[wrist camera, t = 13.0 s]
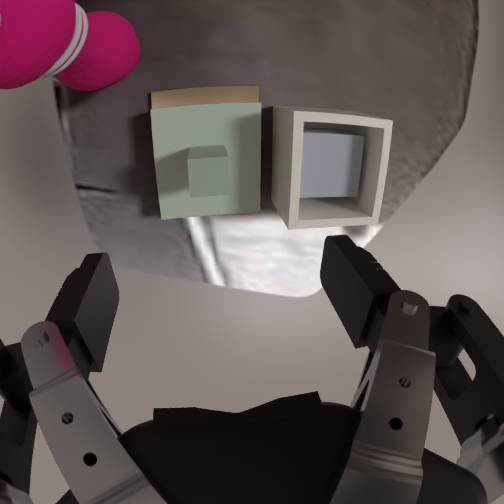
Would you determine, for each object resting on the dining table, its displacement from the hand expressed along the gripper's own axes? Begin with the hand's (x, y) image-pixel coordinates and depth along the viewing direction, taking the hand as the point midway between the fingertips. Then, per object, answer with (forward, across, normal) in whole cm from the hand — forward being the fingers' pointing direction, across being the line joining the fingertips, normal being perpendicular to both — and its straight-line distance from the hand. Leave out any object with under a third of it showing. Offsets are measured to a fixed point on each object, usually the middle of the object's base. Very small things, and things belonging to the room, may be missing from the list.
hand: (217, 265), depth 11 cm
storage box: (+20, -11, +1) cm, 23 cm away
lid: (+20, 0, 0) cm, 20 cm away
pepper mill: (+20, +9, -11) cm, 25 cm away
